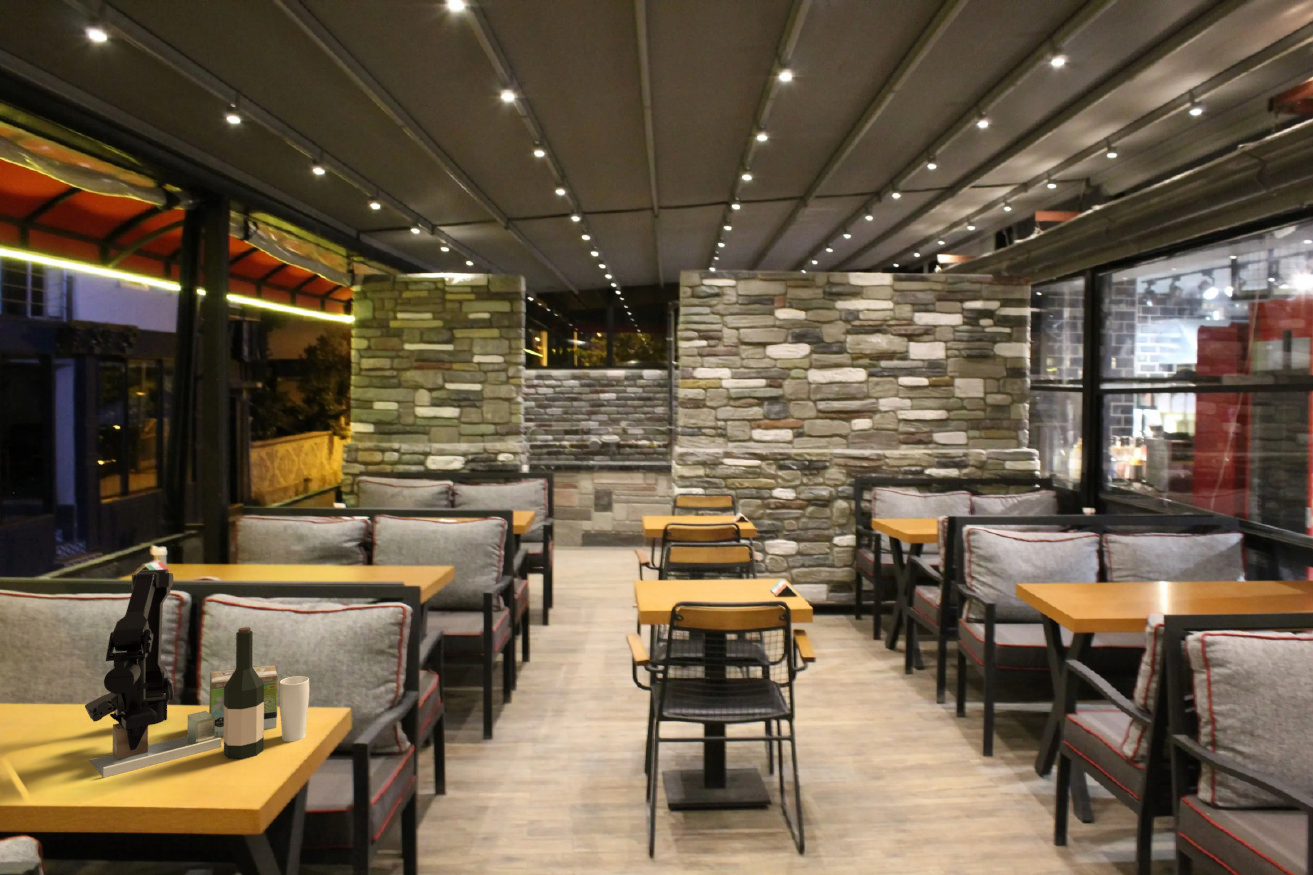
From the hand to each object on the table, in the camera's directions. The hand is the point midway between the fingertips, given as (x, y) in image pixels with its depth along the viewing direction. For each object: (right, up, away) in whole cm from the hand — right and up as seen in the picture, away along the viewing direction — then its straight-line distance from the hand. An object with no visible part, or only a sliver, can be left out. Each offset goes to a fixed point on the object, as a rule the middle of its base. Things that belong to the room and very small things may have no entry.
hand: (130, 746), depth 187 cm
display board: (+6, -3, 0) cm, 6 cm away
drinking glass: (+33, -3, +11) cm, 35 cm away
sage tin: (+13, -2, +5) cm, 14 cm away
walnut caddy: (0, -2, 0) cm, 2 cm away
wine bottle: (+25, -3, +2) cm, 26 cm away
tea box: (+17, -3, +18) cm, 25 cm away
